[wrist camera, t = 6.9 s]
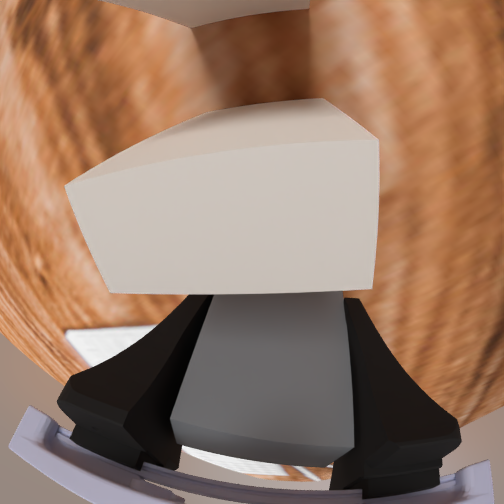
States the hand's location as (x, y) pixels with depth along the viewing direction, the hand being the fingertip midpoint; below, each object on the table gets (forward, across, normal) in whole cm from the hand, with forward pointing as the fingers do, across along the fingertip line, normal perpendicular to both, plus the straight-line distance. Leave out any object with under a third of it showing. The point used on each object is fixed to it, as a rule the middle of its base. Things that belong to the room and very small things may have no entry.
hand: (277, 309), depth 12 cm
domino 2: (+4, +1, -6) cm, 8 cm away
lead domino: (+3, 0, 0) cm, 3 cm away
